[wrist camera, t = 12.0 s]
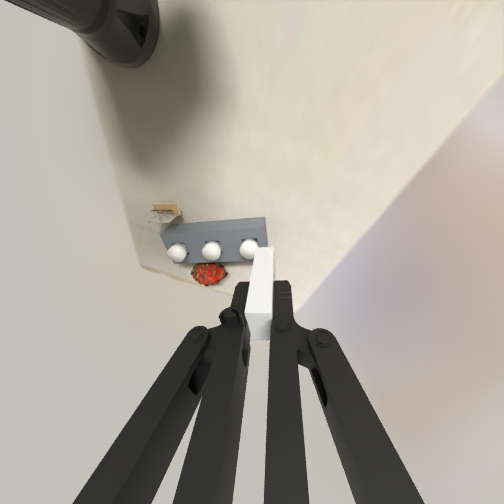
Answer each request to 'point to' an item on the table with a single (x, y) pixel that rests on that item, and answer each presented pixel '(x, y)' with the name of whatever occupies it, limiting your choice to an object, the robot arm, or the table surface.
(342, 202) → the table surface
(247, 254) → the knob near
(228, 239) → the mount
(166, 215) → the architectural model
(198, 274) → the dragon fruit
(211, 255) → the knob mid
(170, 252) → the knob far
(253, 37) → the table surface
